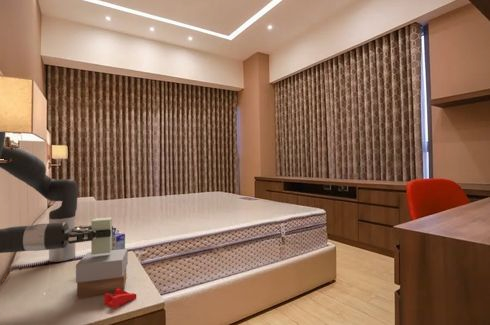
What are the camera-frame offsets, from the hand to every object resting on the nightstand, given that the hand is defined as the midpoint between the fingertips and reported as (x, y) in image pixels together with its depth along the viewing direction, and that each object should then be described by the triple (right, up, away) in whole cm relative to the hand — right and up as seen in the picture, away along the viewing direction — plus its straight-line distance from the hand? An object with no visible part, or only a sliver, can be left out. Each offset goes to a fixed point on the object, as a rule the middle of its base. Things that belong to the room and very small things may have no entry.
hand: (111, 231), depth 83 cm
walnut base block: (-2, -18, -1) cm, 18 cm away
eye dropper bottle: (-11, -19, +26) cm, 34 cm away
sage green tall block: (-2, -6, -1) cm, 7 cm away
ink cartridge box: (-9, -18, +16) cm, 26 cm away
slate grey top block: (-2, -13, -1) cm, 13 cm away
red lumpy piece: (+8, -17, -10) cm, 22 cm away
